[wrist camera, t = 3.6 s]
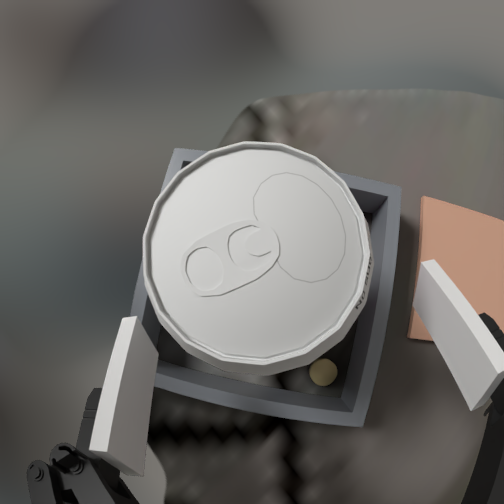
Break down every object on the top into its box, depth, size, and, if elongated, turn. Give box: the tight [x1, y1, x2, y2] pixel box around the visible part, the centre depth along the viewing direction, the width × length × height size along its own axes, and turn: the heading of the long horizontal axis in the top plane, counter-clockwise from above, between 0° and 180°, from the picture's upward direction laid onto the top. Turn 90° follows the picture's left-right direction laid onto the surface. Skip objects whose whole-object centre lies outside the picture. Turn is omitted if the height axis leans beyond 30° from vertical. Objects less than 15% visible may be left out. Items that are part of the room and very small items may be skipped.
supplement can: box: [143, 141, 374, 376], centre depth 17 cm, size 8×8×15 cm
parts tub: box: [130, 148, 401, 427], centre depth 22 cm, size 17×17×4 cm
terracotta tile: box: [407, 196, 504, 341], centre depth 22 cm, size 12×12×1 cm
